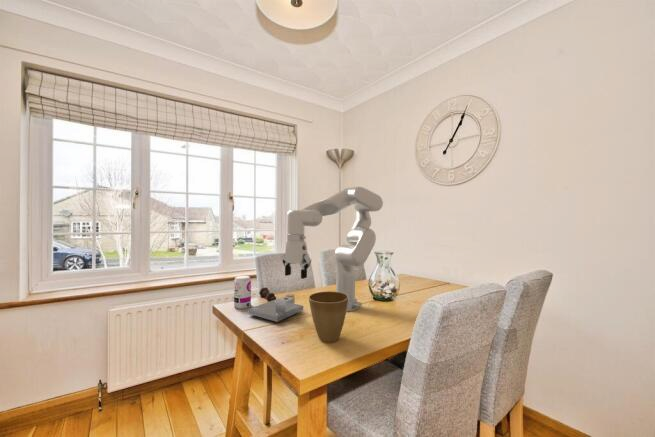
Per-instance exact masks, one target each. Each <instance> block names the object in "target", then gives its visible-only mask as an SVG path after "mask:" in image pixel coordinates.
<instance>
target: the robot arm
mask: <svg viewBox="0 0 655 437" xmlns="http://www.w3.org/2000/svg"><path fill="white" fill-rule="evenodd" d="M352 205H353V206H354V209H355V215H356V217H355V219H354V222H353V224H352V225H351V227H350V229H349V230H348V232H347V235H346V241H347V243H348V244H341V245H339V246H337V247H336V249H335V250H334V260H335V268H336V272H335V273H336V275H335V276H336V277H335V280H336V281H335V284H336V286H335V288H336V290H335V292H340V293H344V294H346V295H348V304H347V310H346V312H352V311H355V310H357V309H359V308H362V306H363V304H362V302H360V301H358V299H357V298H356V270H355V267H361V266H363V265H364V264H365V263H366V261H367V260H368V258H369V256H370V254H371V252H372V250H373V249H374V246H375V244H376V240H377V235H376V233H375V231H374V230H373V229H371V225H372V217H371V215H370V212H378V211H380V210H382V208H383V205H384V201H383V199H382V197H381V196H380V195H379V194H377V193H376V192H374V191H371V190H369V189H367V188H365V187H361V186H351V187H347V188H344V189H343V190H340V191H339V192H336V193H335V194H333V195H330V196H329V197H326V198H324V199H322V200H319V201H317V202H314V203H312V204H309V205H308V206H305V207H304V208H302V209H300V210H299V209H295V210H293V209H291V210H288V211H287V215H286V216H287V217H286V219H287V221H286V222H287V224H286V227H287V229H286V230H287V231H286V232H287V238H286V239H287V240H286V243H285V250H284V254H283V255H282V256H281V257H280V258H281V259H282V264H283V266H284V276H285V277H287V276H290V275H292V266H291V265H299V266H300V268H301V269H300V278H301V279H302V280H304V279H306V278H308V269H309V267H310V266H311V263H312V259H311V258H310V257H309V256H308V255H309V254H308V253H309V252H308V247H307V241H306V235H305V227H318V226H319V225H320V224H321V223H322V222H323V217H325V216H333V215H335V214H337V213H339V212H341V211H343V210H344V209H346V208H348V207H350V206H352Z"/></svg>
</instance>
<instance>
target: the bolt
mask: <svg viewBox="0 0 655 437" xmlns="http://www.w3.org/2000/svg"><path fill="white" fill-rule="evenodd" d="M258 294H259V295H260V297H261V298H264V297H265V299H266V300H267V302H270V301H273V300H276V299H277V297H276V296H275V295H276V294H275V293H273V292H270V290H269V288H268V287H262V288H260V290H259V292H258Z"/></svg>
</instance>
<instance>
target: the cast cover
mask: <svg viewBox="0 0 655 437" xmlns="http://www.w3.org/2000/svg"><path fill="white" fill-rule="evenodd" d="M294 304H295V297H294V298H291V297H286V295H284V296H281V297H278V298H276V311H280V312H284V313H287V312H289V311H291V310H294Z"/></svg>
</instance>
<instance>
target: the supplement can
mask: <svg viewBox="0 0 655 437" xmlns="http://www.w3.org/2000/svg"><path fill="white" fill-rule="evenodd" d="M251 305H252V278H251V277H250V276H249V275H238V276H235V278H234V280H233V307H234V308H235V309H237V308H238V309H237V310H245V309H249V308H251Z"/></svg>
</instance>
